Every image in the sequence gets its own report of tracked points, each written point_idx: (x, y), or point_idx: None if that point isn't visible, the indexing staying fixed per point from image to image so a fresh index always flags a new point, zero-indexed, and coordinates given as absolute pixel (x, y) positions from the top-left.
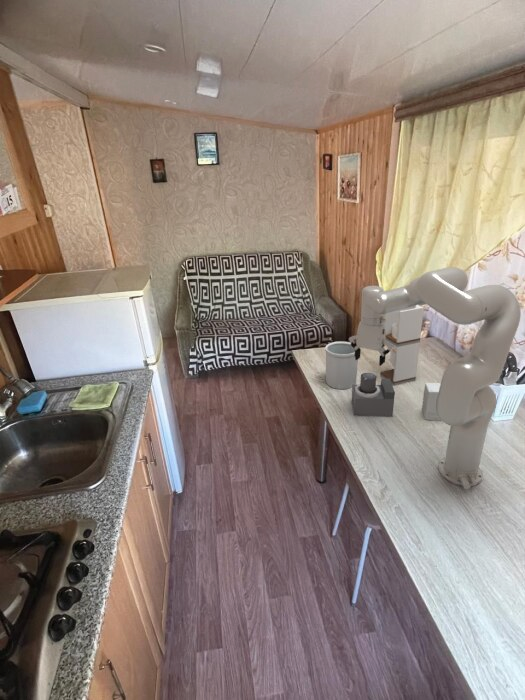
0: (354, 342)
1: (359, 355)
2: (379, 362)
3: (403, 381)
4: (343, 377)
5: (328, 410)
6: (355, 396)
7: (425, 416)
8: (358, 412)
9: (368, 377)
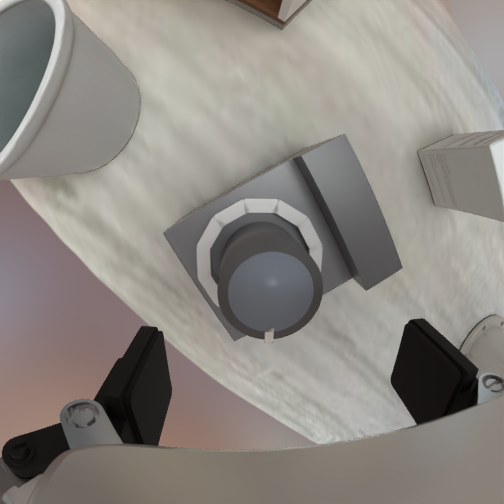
0: (33, 479)
1: (157, 368)
2: (402, 398)
3: (307, 1)
4: (89, 156)
5: (147, 317)
6: (230, 325)
7: (441, 206)
8: None
9: (278, 313)
